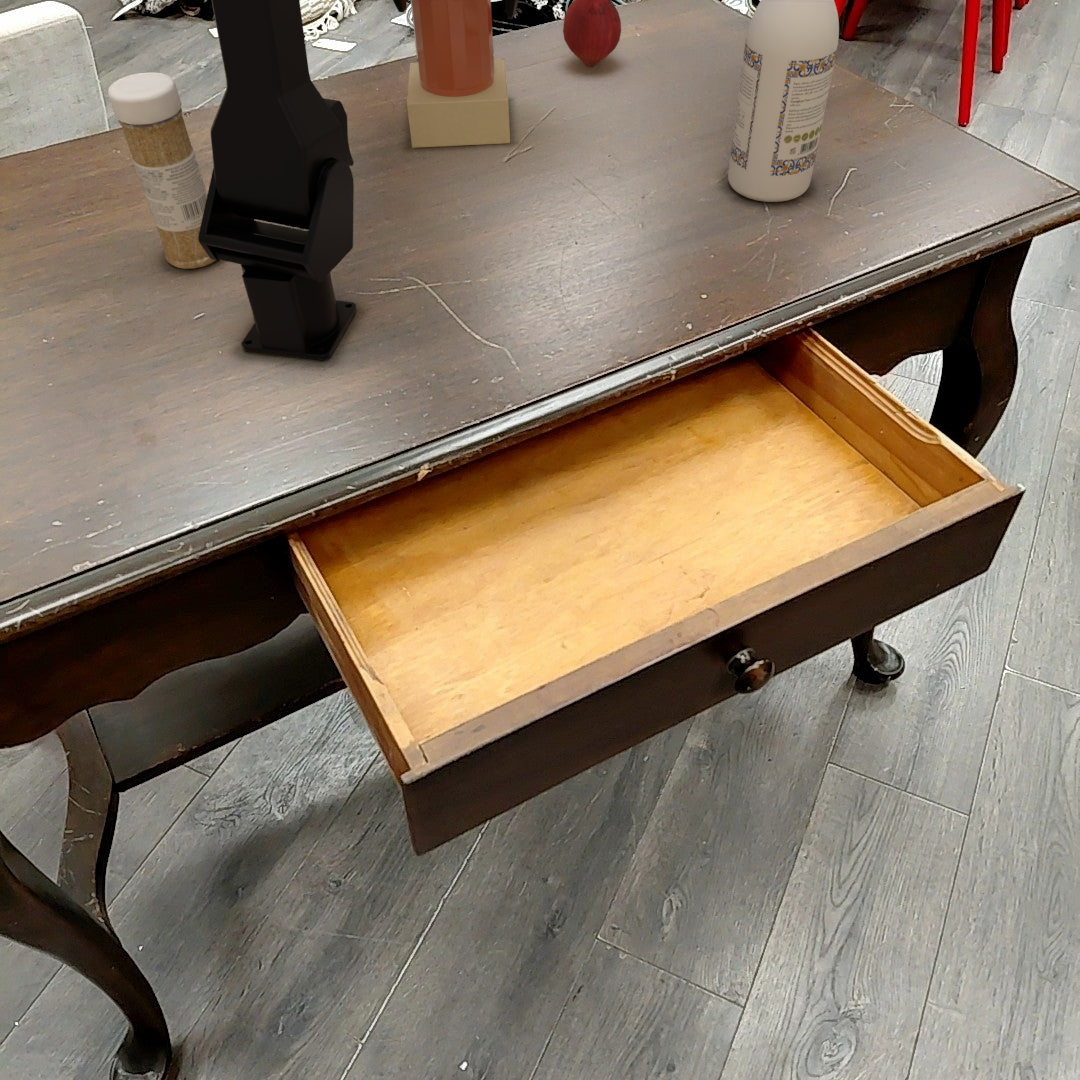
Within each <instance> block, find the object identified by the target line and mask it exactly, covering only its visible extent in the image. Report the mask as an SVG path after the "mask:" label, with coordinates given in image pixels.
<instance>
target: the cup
mask: <svg viewBox="0 0 1080 1080" xmlns="http://www.w3.org/2000/svg"><path fill="white" fill-rule="evenodd" d="M410 6H411V7H410V8H411V15H412V24H413V25H412V26H413V34H414V43H415V44H414V45H415V52H416V53H415V54H416V63H418V72H419V78H420V85H421V87H422V88H423V89H424V90H426V91H427V92H430V93H432V94H436V95H440V96H450V97H458V96H467V95H472V94H476V93H479V92H482V91H484V90H486V89H487V88H489V87H490V86H491V85H492V84H493V82H494V59H495V57H494V56H495V55H494V38H493V37H494V36H493V20H492V19H493V17H492V16H493V15H492V0H410Z"/></svg>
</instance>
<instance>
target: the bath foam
mask: <svg viewBox="0 0 1080 1080" xmlns="http://www.w3.org/2000/svg"><path fill="white" fill-rule="evenodd" d="M839 37H840V22H839V13H838V9H837V6H836V2H835V0H760V1H759V3H758V4H757V7H756V8H755V10H754V12H753V14H752V17H751V19H750V22H749V25H748V29H747V33H746V37H745V42H744V50H743V57H742V64H741V65H742V66H741V72H740V81H739V86H738V87H739V88H738V96H737V103H736V110H735V118H734V125H733V134H732V141H731V148H730V157H729V165H728V173H727V179H728V184H729V186H731V188H732V189H733V190H734V192H736V193H738V194H740V195H741V196H742V197H745V198H748V199H751V200H754V201H760V202H764V203H765V202H766V203H781V202H787V201H790V200H794V199H797V198H798V197H800V196H802V195H803V194H804V193H806V192H807V190H808V189H809V187H810V185H811V182H812V176H813V172H814V166H815V161H816V158H817V152H818V148H819V142H820V137H821V132H822V127H823V122H824V118H825V113H826V108H827V102H828V97H829V92H830V88H831V83H832V77H833V74H834V68H835V62H836V57H837V52H838V48H839V39H840V38H839Z"/></svg>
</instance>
